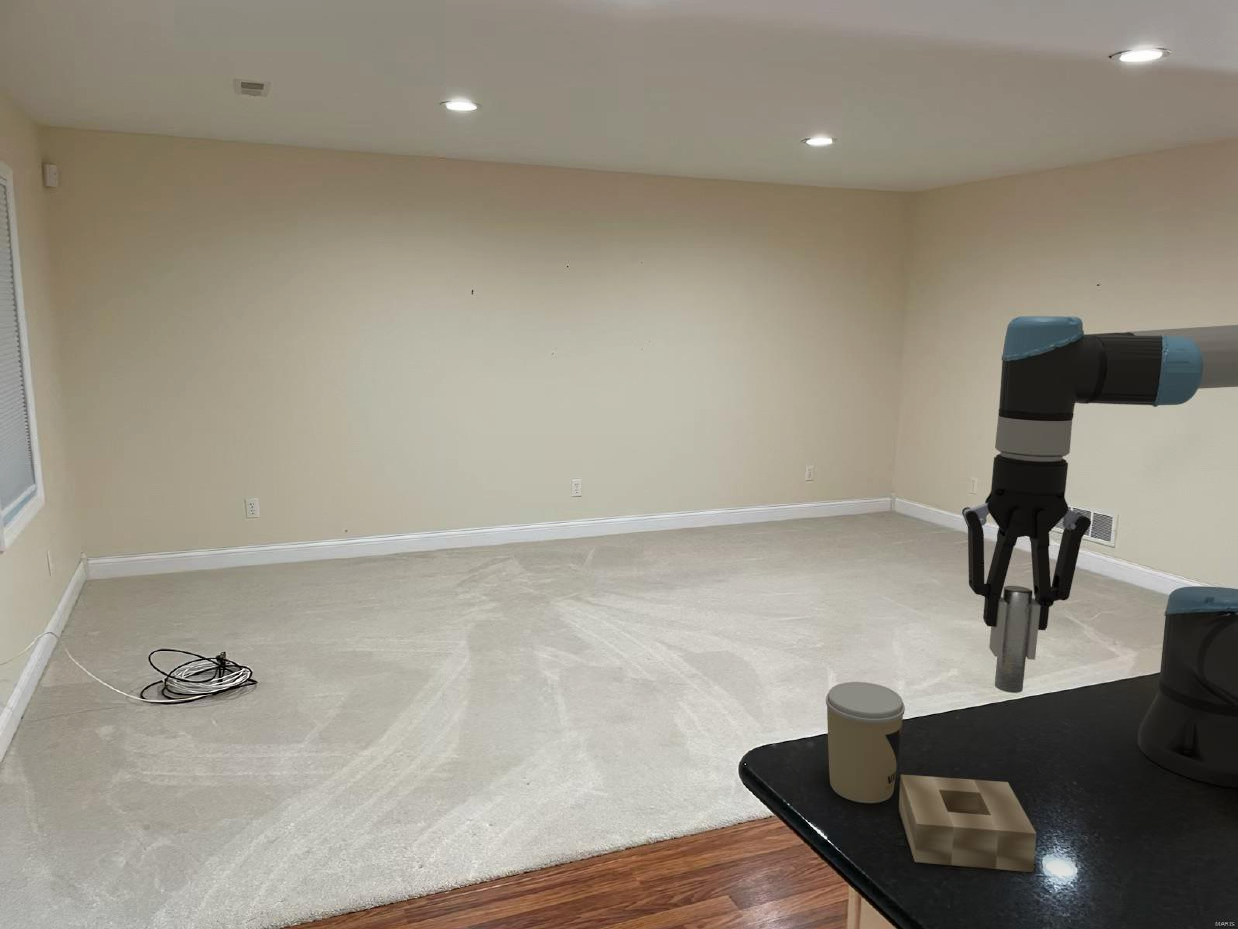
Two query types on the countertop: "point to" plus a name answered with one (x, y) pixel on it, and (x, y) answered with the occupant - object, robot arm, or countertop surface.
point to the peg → (1014, 639)
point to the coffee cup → (863, 740)
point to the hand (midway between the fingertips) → (1011, 653)
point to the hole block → (966, 823)
